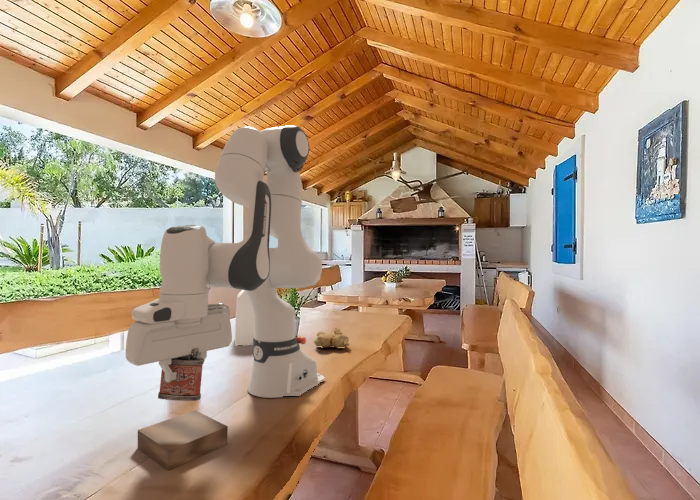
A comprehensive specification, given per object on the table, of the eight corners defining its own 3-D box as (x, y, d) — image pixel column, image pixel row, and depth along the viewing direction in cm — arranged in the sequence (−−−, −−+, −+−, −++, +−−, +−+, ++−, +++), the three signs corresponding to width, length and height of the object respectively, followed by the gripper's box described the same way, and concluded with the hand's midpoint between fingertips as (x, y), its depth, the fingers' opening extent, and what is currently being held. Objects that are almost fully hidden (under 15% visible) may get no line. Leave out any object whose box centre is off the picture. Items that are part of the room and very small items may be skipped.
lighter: (203, 396, 78) (207, 345, 78) (196, 401, 74) (201, 348, 75) (163, 394, 78) (168, 343, 79) (154, 399, 74) (159, 345, 75)
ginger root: (346, 351, 143) (341, 329, 144) (307, 357, 148) (303, 336, 149) (358, 342, 158) (354, 323, 159) (322, 348, 163) (319, 329, 164)
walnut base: (195, 426, 85) (195, 410, 85) (227, 443, 78) (227, 426, 78) (137, 447, 76) (137, 430, 76) (168, 470, 69) (168, 450, 69)
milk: (234, 338, 165) (235, 277, 165) (262, 337, 169) (263, 277, 169) (235, 345, 154) (235, 279, 154) (265, 344, 157) (265, 279, 157)
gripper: (221, 300, 87) (220, 362, 87) (122, 311, 71) (121, 387, 71) (238, 303, 83) (237, 368, 83) (137, 315, 67) (136, 396, 67)
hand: (183, 377), depth 77 cm, fingers closed on lighter, 4 cm apart
